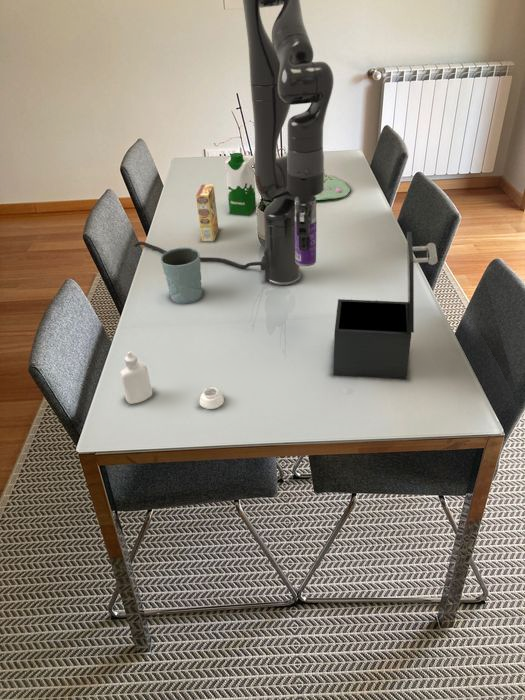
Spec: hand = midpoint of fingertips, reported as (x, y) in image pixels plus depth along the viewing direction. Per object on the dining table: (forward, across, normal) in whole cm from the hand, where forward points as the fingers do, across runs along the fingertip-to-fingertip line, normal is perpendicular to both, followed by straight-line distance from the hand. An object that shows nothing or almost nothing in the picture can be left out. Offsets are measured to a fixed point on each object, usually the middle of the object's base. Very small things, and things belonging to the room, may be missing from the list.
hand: (305, 243), depth 133 cm
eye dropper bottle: (+23, +29, -33) cm, 50 cm away
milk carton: (+24, -70, -29) cm, 79 cm away
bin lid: (+2, +11, +22) cm, 25 cm away
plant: (+24, -90, -4) cm, 93 cm away
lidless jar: (+23, +29, -17) cm, 41 cm away
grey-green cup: (+23, -13, -34) cm, 43 cm away
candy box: (+24, -50, -36) cm, 66 cm away
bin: (+23, +11, +16) cm, 30 cm away
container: (+5, 0, 0) cm, 5 cm away
